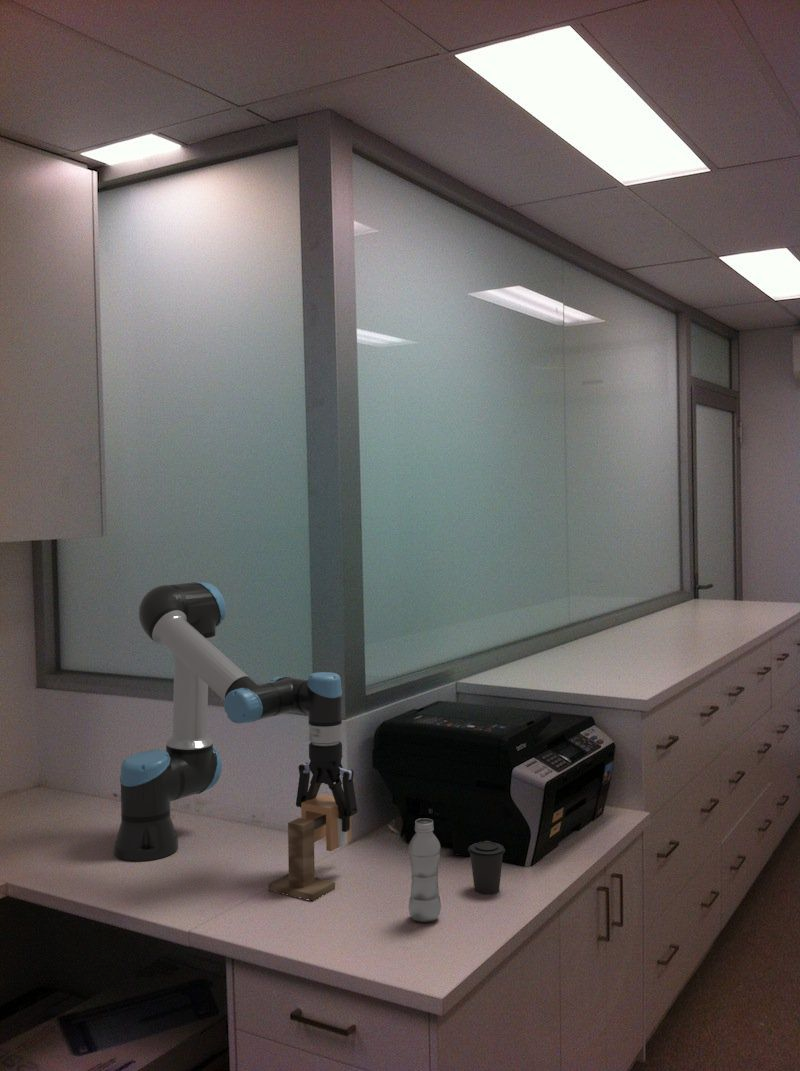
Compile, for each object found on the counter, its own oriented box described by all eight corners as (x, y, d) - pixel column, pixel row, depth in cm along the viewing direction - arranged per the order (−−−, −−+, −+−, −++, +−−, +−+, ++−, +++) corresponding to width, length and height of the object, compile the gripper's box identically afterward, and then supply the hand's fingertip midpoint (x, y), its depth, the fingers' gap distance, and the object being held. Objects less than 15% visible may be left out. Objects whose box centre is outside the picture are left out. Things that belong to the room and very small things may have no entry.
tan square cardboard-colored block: (301, 845, 224) (301, 802, 223) (322, 834, 230) (322, 793, 230) (330, 851, 219) (330, 808, 219) (351, 840, 226) (350, 798, 226)
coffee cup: (495, 880, 221) (494, 836, 221) (512, 893, 214) (511, 847, 213) (462, 886, 218) (461, 841, 218) (478, 899, 211) (477, 852, 210)
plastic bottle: (401, 919, 201) (400, 821, 200) (425, 909, 206) (424, 814, 205) (424, 929, 196) (423, 828, 196) (448, 918, 201) (447, 820, 200)
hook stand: (268, 890, 217) (267, 820, 216) (327, 859, 236) (327, 794, 235) (313, 901, 210) (312, 829, 210) (370, 868, 229) (369, 801, 229)
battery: (479, 848, 242) (479, 807, 242) (469, 857, 236) (469, 815, 236) (462, 846, 244) (462, 805, 244) (452, 855, 238) (452, 813, 237)
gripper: (278, 740, 226) (279, 839, 227) (354, 751, 216) (355, 855, 216) (298, 733, 233) (299, 829, 234) (373, 743, 222) (374, 844, 223)
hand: (326, 841), depth 225 cm, fingers closed on tan square cardboard-colored block, 8 cm apart
